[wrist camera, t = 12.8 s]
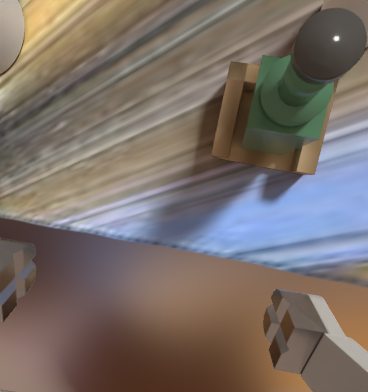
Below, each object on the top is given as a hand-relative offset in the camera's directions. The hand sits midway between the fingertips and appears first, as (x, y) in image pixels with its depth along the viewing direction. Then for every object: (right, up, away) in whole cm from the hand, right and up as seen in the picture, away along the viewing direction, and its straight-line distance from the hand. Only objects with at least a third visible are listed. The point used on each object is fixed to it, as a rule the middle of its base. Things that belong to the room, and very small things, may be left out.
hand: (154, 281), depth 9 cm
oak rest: (+12, +12, +27) cm, 32 cm away
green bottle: (+12, +11, +26) cm, 31 cm away
